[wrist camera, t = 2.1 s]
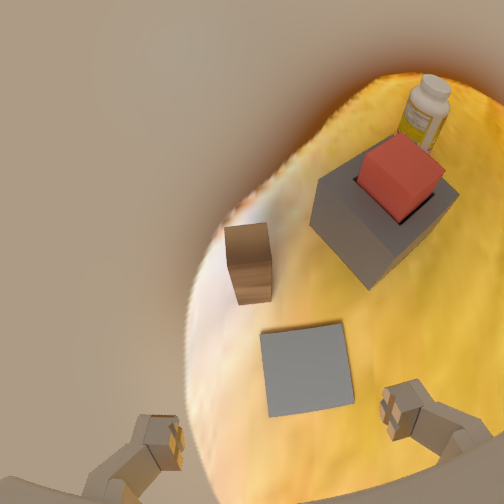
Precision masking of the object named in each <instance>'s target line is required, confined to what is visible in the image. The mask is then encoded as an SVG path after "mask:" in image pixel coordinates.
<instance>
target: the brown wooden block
mask: <svg viewBox="0 0 504 504" xmlns="http://www.w3.org/2000/svg"><path fill="white" fill-rule="evenodd" d="M224 231H225V245H226V258H227V267H228V271H229V274H230V277H231V281H232V284H233V288H234V291H235V294H236V298H237V301H238V304H239V305H247V304H256V303H264V302H271V282H272V257H271V250H270V244H269V237H268V230H267V223H257V224H248V225H240V226H231V227H224Z"/></svg>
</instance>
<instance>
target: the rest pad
mask: <svg viewBox="0 0 504 504" xmlns="http://www.w3.org/2000/svg"><path fill="white" fill-rule="evenodd" d="M260 342H261V351H262V359H263V368H264V377H265V385H266V394H267V402H268V411H269V417H278V416H285V415H293V414H299V413H306V412H312V411H318V410H324V409H329V408H334V407H339V406H344V405H349V404H354V395H353V388H352V382H351V375H350V369H349V362H348V356H347V350H346V344H345V339H344V333H343V328H342V323H340V324H334V325H328V326H322V327H315V328H308V329H301V330H294V331H286V332H279V333H270V334H262V335H260Z"/></svg>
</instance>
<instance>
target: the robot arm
mask: <svg viewBox="0 0 504 504" xmlns="http://www.w3.org/2000/svg"><path fill="white" fill-rule="evenodd" d="M382 396H383V398H384V399H383V400H382V401H381V402H380V406H379V412H380V417H381V420H382V422H383V423H384V424H386V425H388V427H387V432H388V434H389V436H390V438H391V440H392V442H393V441H396V440H400V439H403V438H406V437H410V436H411V438H413V439H414V440H416V441H417V442H419V443H420V444H422V445H423V446H425V447H426V448H428V449H429V450H431V451H432V452H434V453H436V454H437V455H439V456H440V459H439V461H438V462H437V464H436V465H435V466H433V467H430V468H428V469H425V470H423V471H420V472H417V473H415V474H412V475H409V476H406V477H403V478H401V479H398V480H395V481H392V482H388V483H385V484H382V485H379V486H375V487H372V488H368V489H365V490H361V491H357V492H353V493H349V494H345V495H341V496H336V497H331V498H327V499H322V500H316V501H311V502H305V503H299V504H504V431H503V432H502V433H500V434H498V435H496V436H495V437H493V436H492V434H491V433H490V432H489V430H488V429H487V427H486V426H485V425H484V423H483V422H482V421H481V419H479V418H476V417H474V416H471V415H469V414H466V413H464V412H462V411H459V410H457V409H454V408H452V407H450V406H447V405H445V404H443V403H440V402H434V400H433V399H432V397H431V396H430V394H429V393H428V392H427V390H426V389H425V387H424V386H423V385H422V383H421V382H420V381H419V379H414V380H410V381H407V382H403V383H400V384H396V385H392V386H389V387H385V388H384V389H383V392H382ZM184 447H185V438H184V433H183V430H182V428H181V427H179V419H178V417H177V416H176V415H142V414H140V415H139V416H138V418H137V421H136V425H135V428H134V431H133V435H132V438H131V442H130V444H126V445H125V446H123V447H122V448H121V449H119V450H118V451H117V452H116V453H114V454H113V455H112V456H111V457H110V458H108V459H107V460H106V461H105V462H103V463H102V464H101V465H99V466H98V467H97V468H96V469H94V470H93V471H92V472H91V473H89V475H88V478H87V481H86V484H85V487H84V490H83V493H82V496H78V495H73V494H69V493H65V492H62V491H58V490H54V489H51V488H47V487H44V486H41V485H37V484H35V483H32V482H29V481H26V480H23V479H20V478H18V477H14V476H8V477H6V478H3V479H1V480H0V504H142V503H141V502H140V501H139V500H138V498H139V497H140V496H141V494H142V493H143V492H144V491H145V490H146V489H147V487H148V486H149V485H150V484H151V483H152V482H153V481H154V480H155V478H156V477H157V476H158V475H159V474H160V473H161V471H181V470H182V463H183V457H182V455H181V452H182V451H183V450H184Z"/></svg>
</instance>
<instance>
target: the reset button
mask: <svg viewBox="0 0 504 504" xmlns="http://www.w3.org/2000/svg"><path fill="white" fill-rule="evenodd" d="M445 171H446V170H445V169H444V168H443V167H441V166H440V165H439V164H438V163H437V162H436V161H435V160H434V159H433V158H432V157H430V156H429V155H428V154H427V153H426V152H425V151H424V150H422V149H421V148H420V147H419V146H418V145H417V144H415V143H414V142H413V141H412V140H411V139H409V138H408V137H407V136H406V135H404V134H403V133H402V132H401V133H399V134H398V135H396V136H394V137H393V138H391V139H390V140H388V141H386V142H385V143H383V144H381V145H380V146H378V147H376V148H375V149H373V150H372V151H370V152H368V153H367V154H366V155H365V158H364V161H363V164H362V167H361V170H360V173H359V176H358V179H357V182H356V183H357V184H358V185H359V186H360V187H361V188H362V189H363V190H364V191H365V192H366V193H367V194H368V195H369V196H370V197H372V198H373V199H374V200H375V201H376V202H377V203H378V204H379V205H380V206H381V207H382V208H383V209H384V210H385V211H386V212H387V213H388V214H389V215H390V216H391V217H392V218H393V219H394V220H395V221H396V222H397V223H398V224H400V223H401V222H402V221H403V220H404V219H406V218H407V217H408V216H409V215H410V214H411V213H412V212H413V211H415V210H416V209H417V208H418V207H419V206H420V205H421V204H422V203H424V202H425V201H426V200H427V199H428V198H429V196H430V195H431V193H432V191H433V190H434V188H435V187H436V185H437V184H438V182H439V180H440V179H441V177H442V176H443V174H444V172H445Z"/></svg>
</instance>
